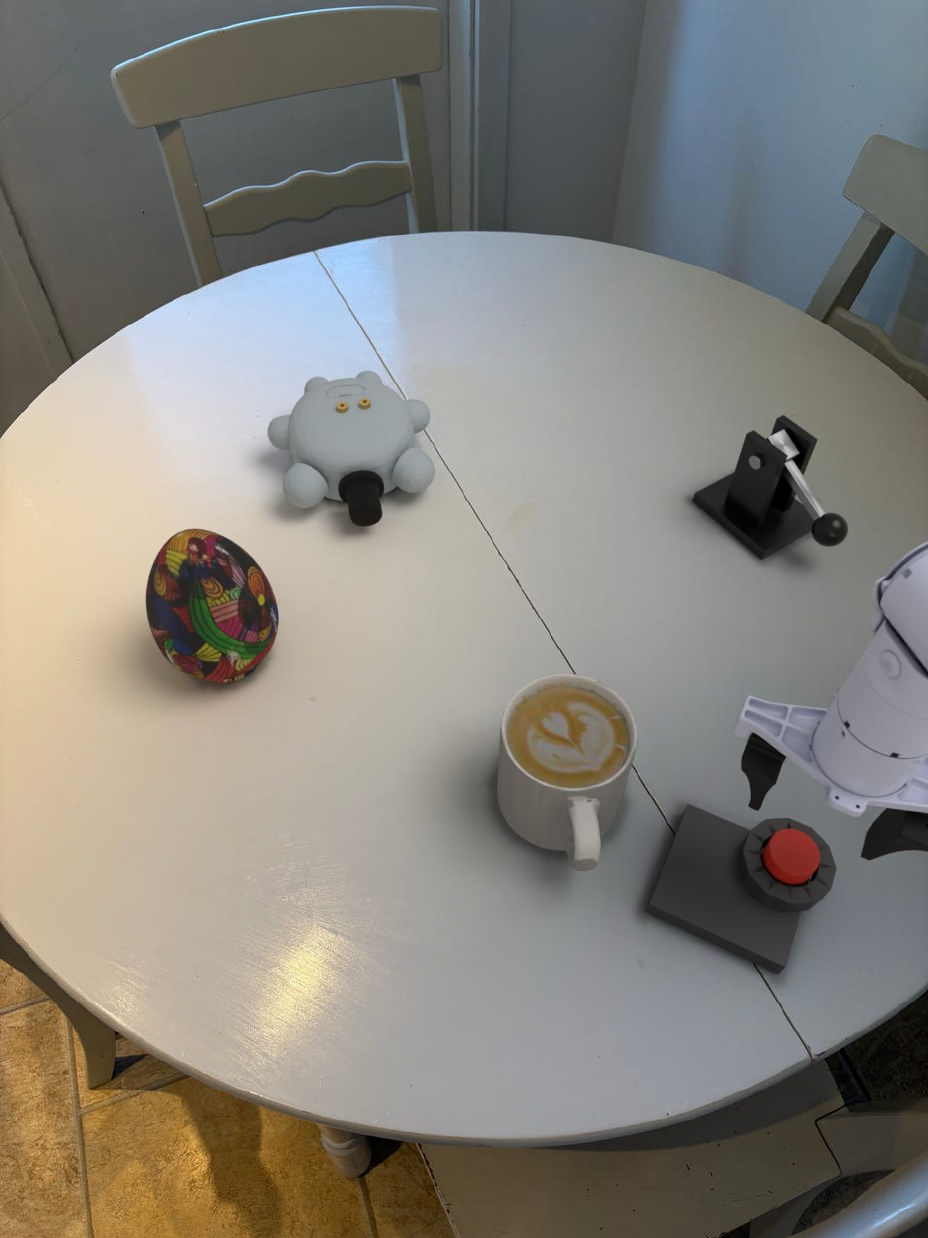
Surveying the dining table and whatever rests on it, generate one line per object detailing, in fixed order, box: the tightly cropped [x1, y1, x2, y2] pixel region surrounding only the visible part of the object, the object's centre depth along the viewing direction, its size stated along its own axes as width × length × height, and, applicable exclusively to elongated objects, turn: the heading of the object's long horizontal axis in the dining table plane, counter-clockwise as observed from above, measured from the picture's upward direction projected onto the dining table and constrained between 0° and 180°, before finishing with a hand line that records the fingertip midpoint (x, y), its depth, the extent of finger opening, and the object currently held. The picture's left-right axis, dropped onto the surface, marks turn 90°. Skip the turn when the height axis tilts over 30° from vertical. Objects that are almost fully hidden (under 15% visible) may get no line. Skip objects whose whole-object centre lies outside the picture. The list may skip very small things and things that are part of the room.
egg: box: [145, 528, 280, 684], centre depth 75 cm, size 11×11×15 cm
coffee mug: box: [496, 673, 639, 872], centre depth 67 cm, size 13×10×10 cm
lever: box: [765, 429, 849, 548], centre depth 84 cm, size 12×3×3 cm, turn 34°
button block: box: [645, 803, 837, 975], centre depth 66 cm, size 11×10×4 cm
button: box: [763, 829, 820, 885], centre depth 65 cm, size 4×4×2 cm
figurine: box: [267, 370, 436, 528], centre depth 93 cm, size 17×8×20 cm
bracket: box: [692, 414, 819, 560], centre depth 88 cm, size 10×8×10 cm
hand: (811, 821), depth 61 cm, fingers open, 7 cm apart
